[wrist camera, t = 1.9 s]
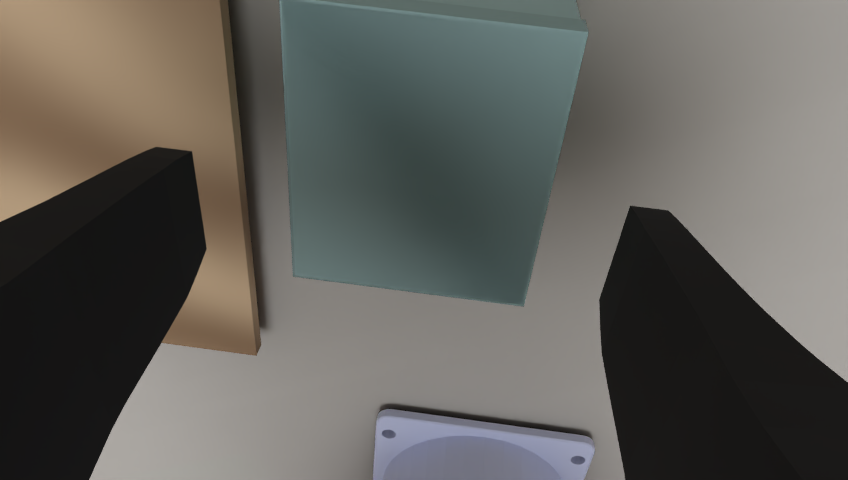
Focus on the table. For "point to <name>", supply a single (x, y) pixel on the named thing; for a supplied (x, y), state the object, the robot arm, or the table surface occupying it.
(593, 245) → the table surface
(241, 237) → the thin wooden board
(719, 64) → the table surface
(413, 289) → the pale teal rectangular block
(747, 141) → the table surface
